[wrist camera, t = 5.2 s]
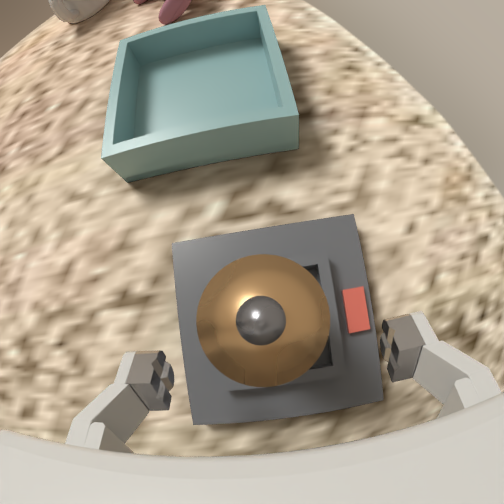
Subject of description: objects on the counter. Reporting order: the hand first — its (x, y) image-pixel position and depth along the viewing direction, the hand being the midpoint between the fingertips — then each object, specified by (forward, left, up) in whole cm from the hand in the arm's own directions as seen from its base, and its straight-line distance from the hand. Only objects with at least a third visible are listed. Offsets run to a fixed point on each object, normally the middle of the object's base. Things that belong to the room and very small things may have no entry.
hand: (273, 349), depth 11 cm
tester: (+1, +1, -8) cm, 8 cm away
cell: (+1, +1, -6) cm, 6 cm away
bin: (+12, +15, -8) cm, 20 cm away
